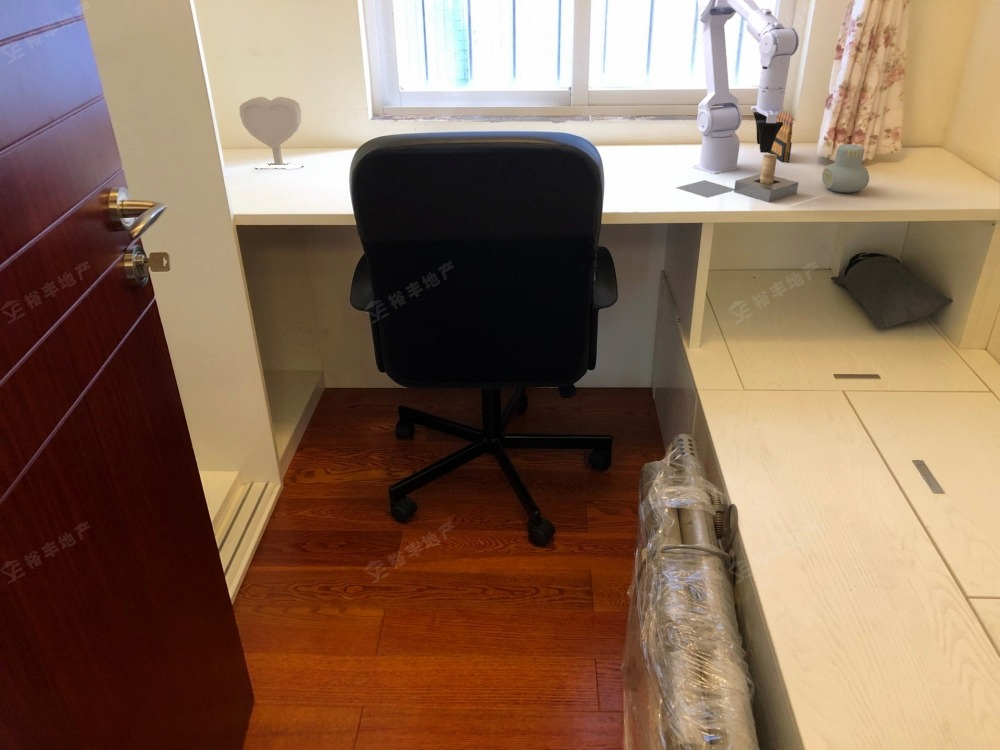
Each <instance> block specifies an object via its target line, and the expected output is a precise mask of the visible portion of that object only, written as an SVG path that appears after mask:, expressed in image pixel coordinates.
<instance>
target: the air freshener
mask: <svg viewBox="0 0 1000 750" xmlns="http://www.w3.org/2000/svg"><path fill="white" fill-rule="evenodd" d="M836 148H837V149H836V153H835V158H834V162H833V163H831V164H829V165H827V166H825V167H824V168H823V170H822V173H821V178H822V179H821V180H822V183H823V185H824V187H826V188H827V189H829V191H831V192H836V193H844V194H847V193H848V194H849V193H856V192H859V191H861V190H862V189H865V188H866V187H867V186H868V184H869V183H870V172H869V171H868V169H867V168H866V167H865V166H864V165H863V160H864V159H863V158H864V154H865V148H864V146H862V145H858V144H851V143H850V144H840V145H838V146H837V147H836Z"/></svg>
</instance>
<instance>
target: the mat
mask: <svg viewBox="0 0 1000 750" xmlns="http://www.w3.org/2000/svg"><path fill="white" fill-rule="evenodd" d="M675 188H676V189H678V190H681V191H684V192H688V193H691V194H694V195H697V196H701V197H704V198H711V197H715V196H718V195H722V194H726V193H729V192H734V188H733V187H731V186H726V185H724V184H723V185H722V184H719V183H715V182H712V181H708V180H706V179H704V180H700V181H695V182H692V183H688V184H685V185H681V186H678V187H675Z"/></svg>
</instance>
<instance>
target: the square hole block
mask: <svg viewBox="0 0 1000 750" xmlns="http://www.w3.org/2000/svg"><path fill="white" fill-rule="evenodd" d="M760 176H761V173H759V174H756V175H752V176H749V177H748V176H747V177H743V178H739V179H737V180H735V181H734V188H733V189H734V190H733V192H734V194H738V195H743V196H745V197H748V198H749V197H750V198H753V199H756V200H760V201H762V202H766V203H772V202H775V201H779V200H781V199H785V198H788V197H791V196H794V195H798V194H797V193H798V189H799V188H798V187H799V182H798V181H794V180H791V179H787V178H783V177H779V176H777V175H776V176H775V175H774V181H773V184H772V185H769V186H768V185H765V184H761V183H760Z"/></svg>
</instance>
